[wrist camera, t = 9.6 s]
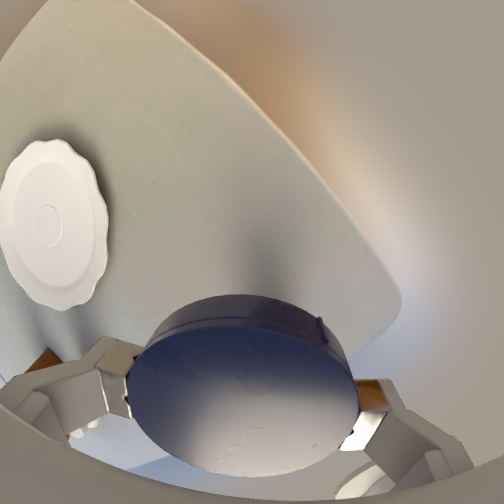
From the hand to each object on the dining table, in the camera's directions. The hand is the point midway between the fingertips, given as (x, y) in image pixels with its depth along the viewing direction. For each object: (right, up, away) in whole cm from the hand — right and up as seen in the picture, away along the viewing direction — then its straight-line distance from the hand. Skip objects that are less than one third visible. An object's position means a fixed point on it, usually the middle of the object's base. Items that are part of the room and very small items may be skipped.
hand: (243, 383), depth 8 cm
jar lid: (0, 0, -1) cm, 1 cm away
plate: (-25, +7, +20) cm, 33 cm away
